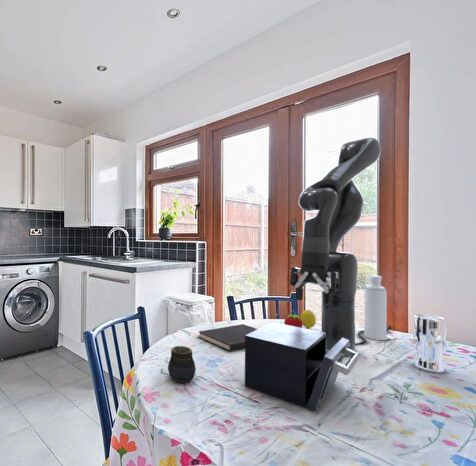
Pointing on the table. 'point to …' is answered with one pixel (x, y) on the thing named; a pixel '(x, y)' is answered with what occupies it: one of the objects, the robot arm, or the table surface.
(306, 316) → the lemon
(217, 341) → the hardcover book
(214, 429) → the table surface
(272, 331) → the oven
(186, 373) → the mate gourd
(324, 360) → the oven door
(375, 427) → the table surface
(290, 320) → the strawberry
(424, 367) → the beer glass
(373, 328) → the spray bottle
